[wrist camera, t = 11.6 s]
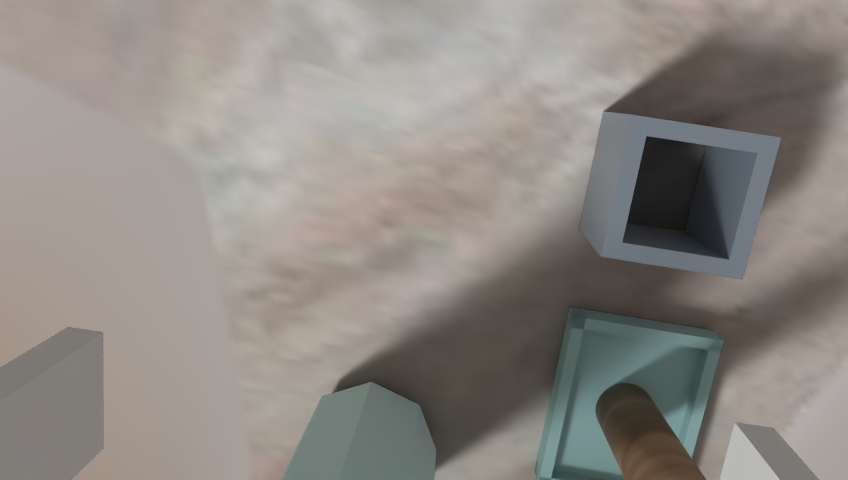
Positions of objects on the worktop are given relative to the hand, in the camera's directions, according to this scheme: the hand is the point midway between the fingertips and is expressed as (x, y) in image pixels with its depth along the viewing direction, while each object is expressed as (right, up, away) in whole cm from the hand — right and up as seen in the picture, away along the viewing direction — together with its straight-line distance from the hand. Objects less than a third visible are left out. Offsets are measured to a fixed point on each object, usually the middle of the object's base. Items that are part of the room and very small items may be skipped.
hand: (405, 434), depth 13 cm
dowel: (+14, -8, +32) cm, 36 cm away
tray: (+15, -8, +33) cm, 37 cm away
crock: (+15, +8, +29) cm, 34 cm away
